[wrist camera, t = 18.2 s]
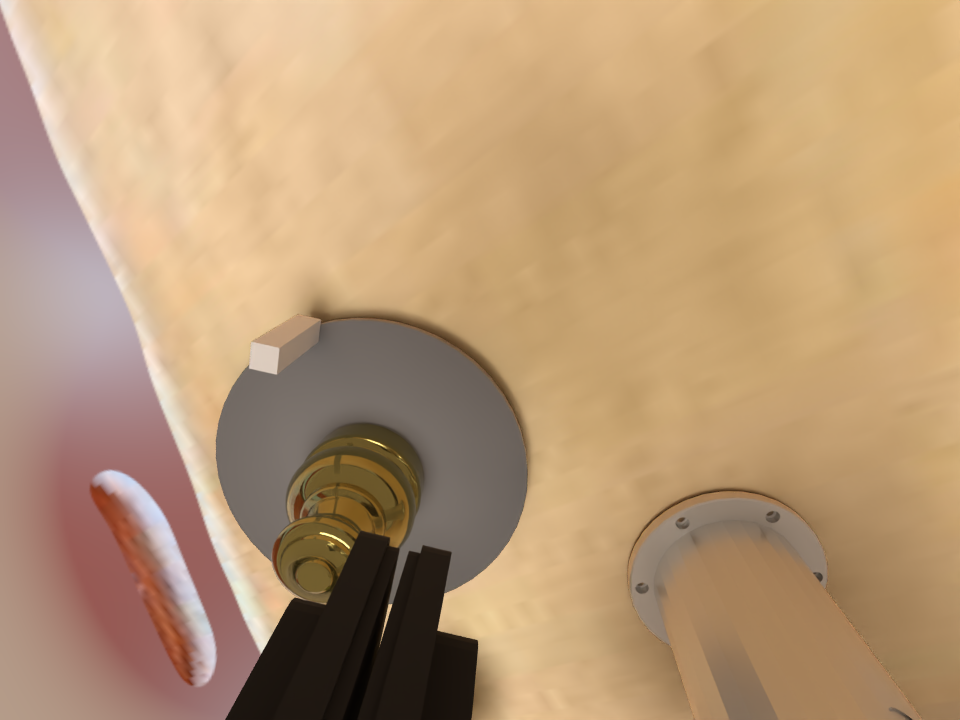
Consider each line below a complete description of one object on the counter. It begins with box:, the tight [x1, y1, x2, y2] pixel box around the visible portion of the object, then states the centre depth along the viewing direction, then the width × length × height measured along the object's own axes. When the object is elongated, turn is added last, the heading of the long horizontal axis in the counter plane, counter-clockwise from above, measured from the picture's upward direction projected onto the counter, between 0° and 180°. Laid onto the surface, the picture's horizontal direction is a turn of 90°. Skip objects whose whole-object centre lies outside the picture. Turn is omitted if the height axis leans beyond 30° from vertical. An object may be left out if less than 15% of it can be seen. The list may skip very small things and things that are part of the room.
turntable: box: [216, 314, 527, 604], centre depth 34 cm, size 20×20×7 cm
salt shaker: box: [271, 424, 424, 605], centre depth 31 cm, size 7×7×10 cm
